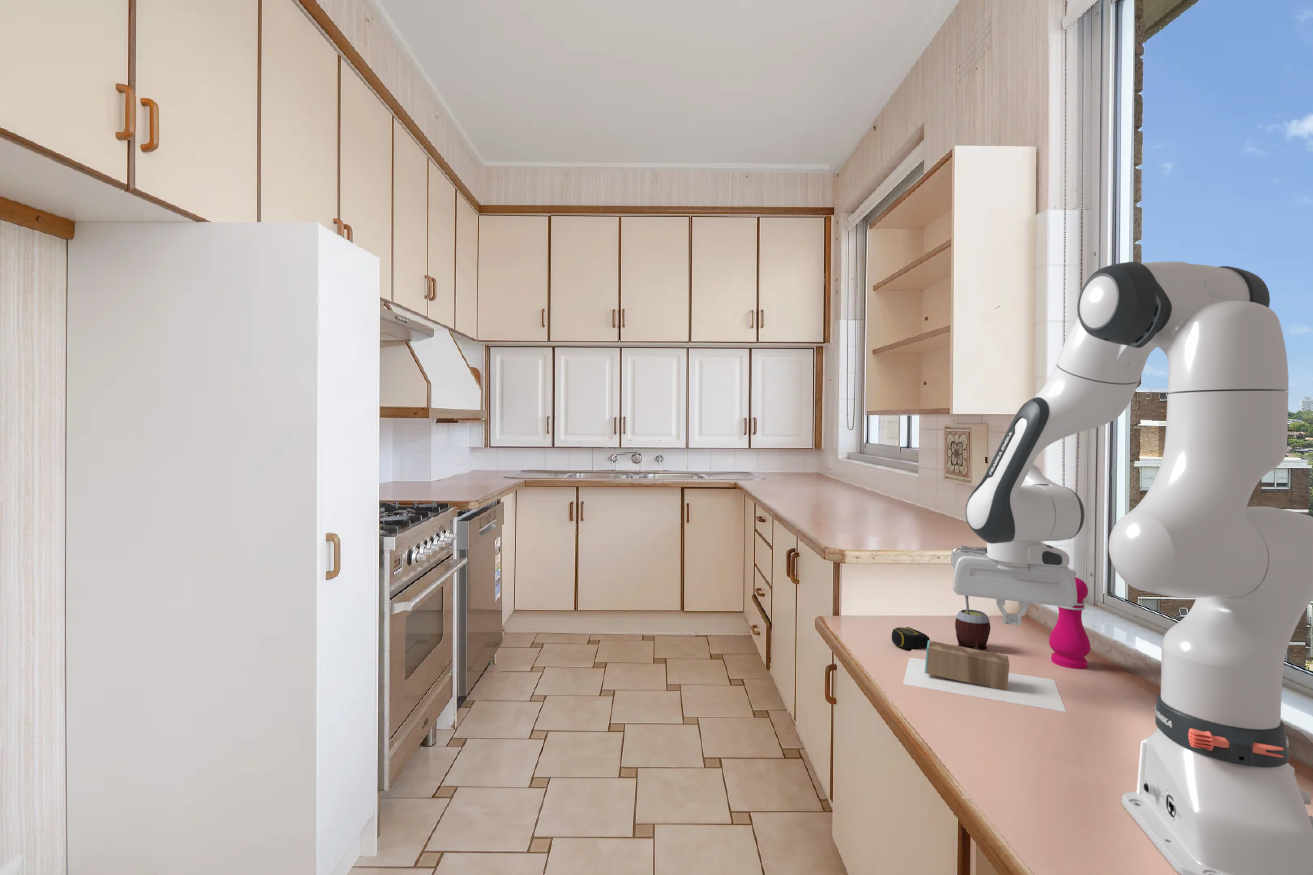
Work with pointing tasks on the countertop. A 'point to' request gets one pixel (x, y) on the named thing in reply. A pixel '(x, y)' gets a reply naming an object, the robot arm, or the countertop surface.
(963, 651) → the walnut block
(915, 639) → the tape measure
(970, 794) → the countertop surface
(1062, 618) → the pepper mill
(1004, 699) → the white flat rectangular panel
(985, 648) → the mate gourd
